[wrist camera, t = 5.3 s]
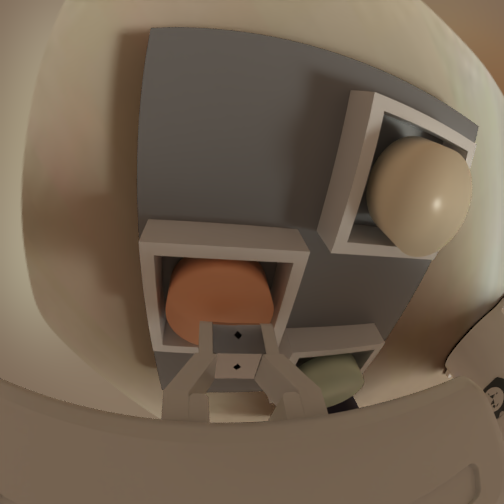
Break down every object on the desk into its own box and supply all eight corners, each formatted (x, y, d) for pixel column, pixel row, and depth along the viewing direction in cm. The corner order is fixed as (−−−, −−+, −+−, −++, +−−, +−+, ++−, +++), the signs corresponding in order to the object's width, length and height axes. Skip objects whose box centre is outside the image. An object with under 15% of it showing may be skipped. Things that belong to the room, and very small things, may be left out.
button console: (457, 119, 12) (501, 135, 9) (349, 364, 25) (362, 396, 21) (160, 37, 9) (138, 15, 5) (163, 370, 21) (160, 410, 18)
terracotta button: (274, 249, 13) (284, 274, 11) (257, 321, 16) (263, 348, 14) (168, 243, 12) (162, 269, 10) (171, 318, 15) (168, 346, 13)
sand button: (455, 153, 10) (483, 166, 8) (425, 238, 13) (446, 259, 11) (383, 121, 9) (413, 130, 7) (352, 229, 12) (373, 254, 10)
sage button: (365, 348, 17) (376, 370, 16) (339, 384, 20) (346, 404, 18) (301, 354, 16) (309, 380, 15) (283, 391, 19) (288, 413, 17)
